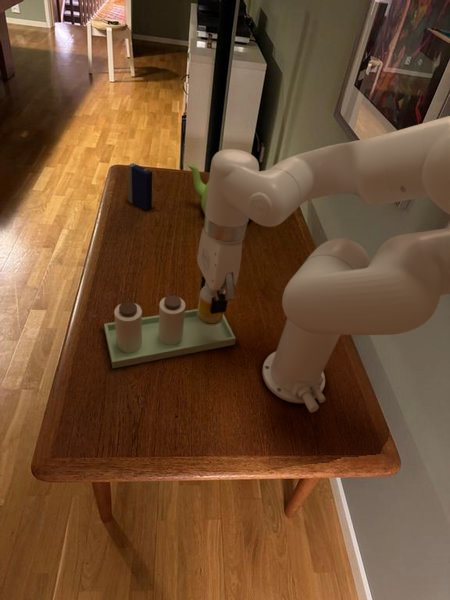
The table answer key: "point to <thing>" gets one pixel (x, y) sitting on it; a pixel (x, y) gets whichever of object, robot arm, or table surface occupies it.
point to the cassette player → (140, 186)
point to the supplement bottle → (208, 307)
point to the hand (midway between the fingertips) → (212, 300)
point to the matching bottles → (131, 323)
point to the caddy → (153, 349)
